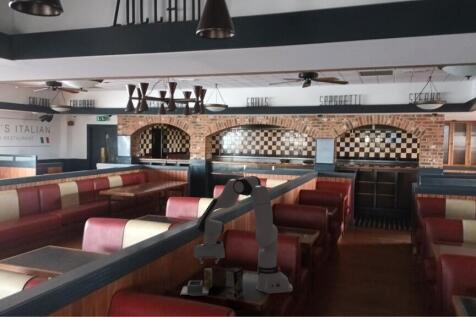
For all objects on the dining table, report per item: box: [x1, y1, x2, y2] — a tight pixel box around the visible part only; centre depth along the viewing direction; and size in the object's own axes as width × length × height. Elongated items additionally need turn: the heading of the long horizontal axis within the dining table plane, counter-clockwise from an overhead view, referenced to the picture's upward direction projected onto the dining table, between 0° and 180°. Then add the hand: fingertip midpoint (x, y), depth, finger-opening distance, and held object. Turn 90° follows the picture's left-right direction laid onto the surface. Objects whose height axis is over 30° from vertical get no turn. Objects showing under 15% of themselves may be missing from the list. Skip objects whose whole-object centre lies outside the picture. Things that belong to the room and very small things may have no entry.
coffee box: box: [225, 267, 244, 301], centre depth 229 cm, size 9×6×16 cm
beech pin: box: [203, 267, 213, 289], centre depth 248 cm, size 4×4×11 cm
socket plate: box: [180, 280, 210, 297], centre depth 238 cm, size 16×12×6 cm
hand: (208, 263), depth 254 cm, fingers open, 8 cm apart
